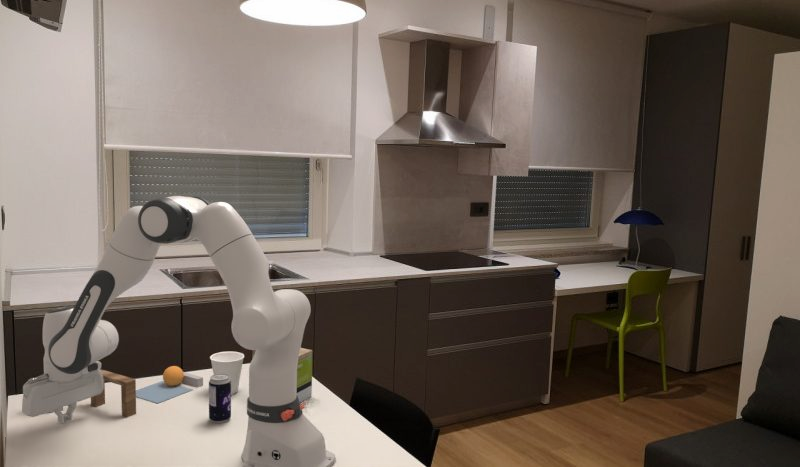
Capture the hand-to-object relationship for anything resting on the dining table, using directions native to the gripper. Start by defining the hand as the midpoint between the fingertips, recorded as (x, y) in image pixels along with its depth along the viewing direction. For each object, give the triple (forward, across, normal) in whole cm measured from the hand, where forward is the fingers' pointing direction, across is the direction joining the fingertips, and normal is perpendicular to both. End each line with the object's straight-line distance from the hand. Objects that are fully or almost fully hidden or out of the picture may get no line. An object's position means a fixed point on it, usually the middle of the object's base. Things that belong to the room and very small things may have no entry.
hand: (65, 421), depth 167 cm
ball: (-1, +36, +1) cm, 36 cm away
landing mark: (+2, +30, 0) cm, 30 cm away
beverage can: (+2, +25, -29) cm, 38 cm away
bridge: (+2, +14, 0) cm, 14 cm away
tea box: (+2, +47, -32) cm, 57 cm away
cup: (+2, +41, -16) cm, 44 cm away
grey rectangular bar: (+2, +40, 0) cm, 40 cm away
